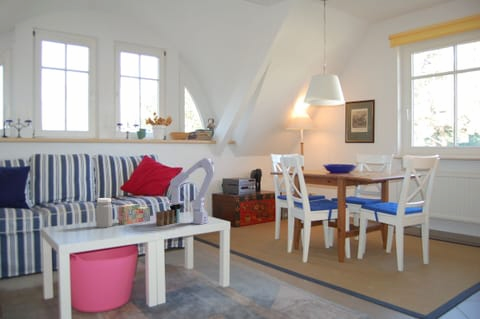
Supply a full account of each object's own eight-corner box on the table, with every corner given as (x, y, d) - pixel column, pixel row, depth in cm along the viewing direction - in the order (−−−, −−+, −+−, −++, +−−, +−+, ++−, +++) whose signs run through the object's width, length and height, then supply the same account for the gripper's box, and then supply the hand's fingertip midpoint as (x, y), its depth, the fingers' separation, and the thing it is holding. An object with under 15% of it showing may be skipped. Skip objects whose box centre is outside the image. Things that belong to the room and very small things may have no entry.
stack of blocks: (144, 219, 274) (144, 202, 274) (150, 220, 270) (150, 203, 270) (118, 224, 257) (118, 205, 257) (124, 225, 253) (124, 206, 253)
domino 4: (173, 221, 266) (173, 208, 266) (179, 222, 263) (179, 209, 263) (172, 222, 264) (171, 208, 264) (177, 222, 262) (177, 209, 261)
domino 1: (158, 225, 253) (158, 211, 253) (163, 226, 250) (163, 212, 250) (156, 225, 252) (156, 211, 251) (161, 226, 249) (161, 212, 249)
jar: (107, 228, 242) (107, 199, 241) (93, 227, 244) (92, 199, 243) (115, 225, 251) (115, 197, 251) (101, 225, 253) (101, 197, 253)
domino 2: (163, 223, 257) (163, 210, 257) (169, 224, 255) (169, 211, 254) (161, 224, 256) (161, 210, 256) (167, 225, 253) (167, 211, 253)
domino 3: (168, 222, 262) (168, 209, 261) (174, 223, 259) (174, 210, 259) (166, 223, 260) (166, 209, 260) (172, 223, 257) (172, 210, 257)
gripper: (178, 194, 272) (178, 213, 272) (163, 196, 259) (163, 216, 260) (186, 195, 268) (186, 214, 268) (171, 197, 256) (171, 217, 256)
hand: (175, 215), depth 264 cm, fingers closed on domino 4, 2 cm apart
